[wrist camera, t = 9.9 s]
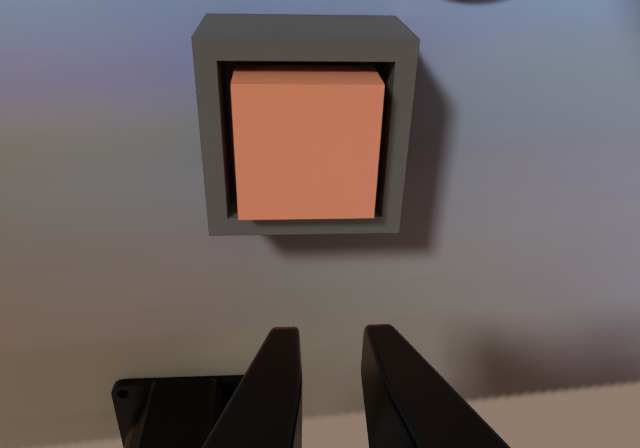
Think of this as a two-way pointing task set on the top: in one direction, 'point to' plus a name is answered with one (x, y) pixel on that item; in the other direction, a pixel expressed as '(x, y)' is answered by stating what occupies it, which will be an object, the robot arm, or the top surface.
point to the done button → (306, 140)
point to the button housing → (302, 49)
